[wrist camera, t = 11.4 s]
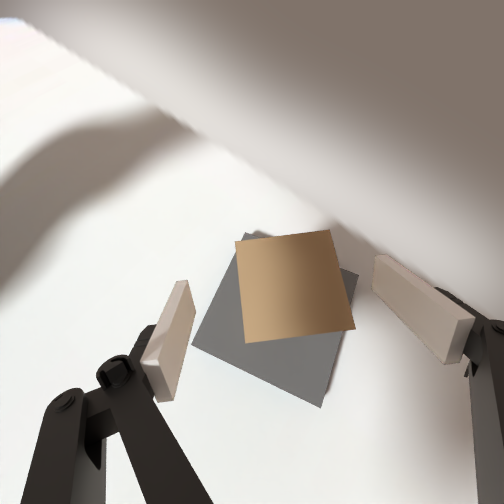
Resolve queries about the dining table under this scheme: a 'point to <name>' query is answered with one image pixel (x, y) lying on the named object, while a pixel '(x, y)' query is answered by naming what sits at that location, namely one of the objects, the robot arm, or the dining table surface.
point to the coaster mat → (269, 343)
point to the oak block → (291, 287)
